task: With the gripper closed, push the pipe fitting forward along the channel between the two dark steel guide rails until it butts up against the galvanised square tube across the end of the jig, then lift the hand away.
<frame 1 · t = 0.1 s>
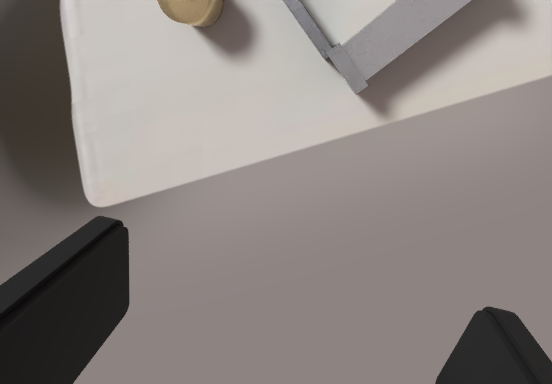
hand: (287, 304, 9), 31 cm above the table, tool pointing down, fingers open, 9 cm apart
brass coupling: (200, 0, 34), on the table
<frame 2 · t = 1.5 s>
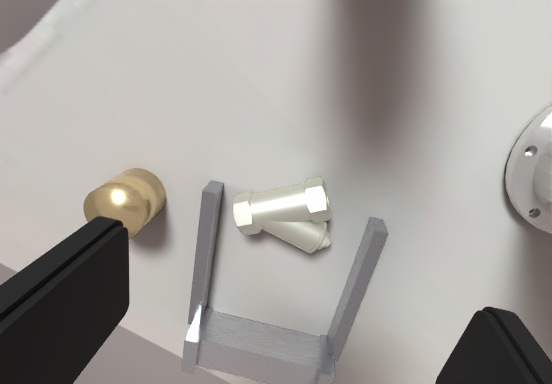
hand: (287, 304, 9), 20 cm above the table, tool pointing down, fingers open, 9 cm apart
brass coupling: (141, 192, 32), on the table
pipe fitting: (288, 211, 31), on the table
pipe jig: (279, 268, 33), on the table
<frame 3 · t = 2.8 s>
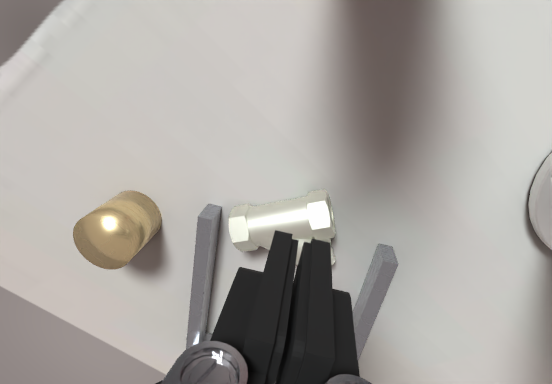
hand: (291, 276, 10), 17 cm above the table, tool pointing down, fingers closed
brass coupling: (136, 215, 30), on the table
pipe fitting: (290, 226, 29), on the table
pipe jig: (281, 294, 31), on the table
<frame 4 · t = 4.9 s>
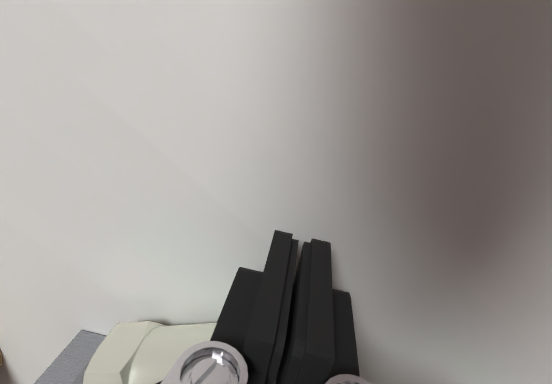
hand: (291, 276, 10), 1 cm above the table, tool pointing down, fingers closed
pipe fitting: (246, 355, 14), on the table
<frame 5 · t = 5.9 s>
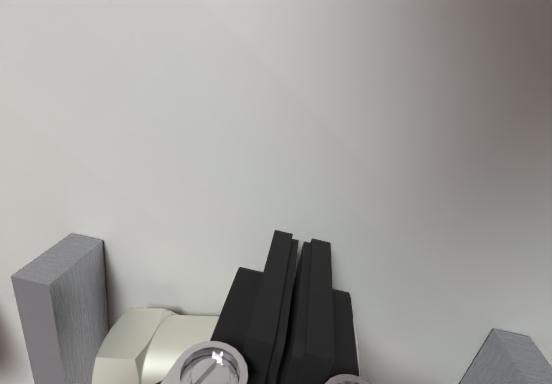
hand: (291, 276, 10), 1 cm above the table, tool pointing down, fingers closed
pipe fitting: (253, 351, 13), on the table, touching gripper
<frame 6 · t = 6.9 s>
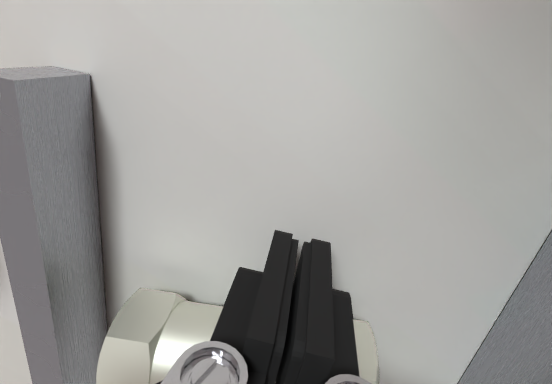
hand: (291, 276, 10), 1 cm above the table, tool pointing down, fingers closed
pipe fitting: (254, 345, 13), on the table, touching gripper
pipe jig: (278, 329, 12), on the table
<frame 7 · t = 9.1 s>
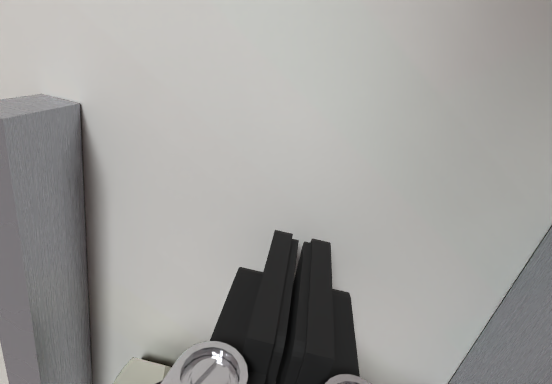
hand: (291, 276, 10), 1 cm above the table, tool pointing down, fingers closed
pipe jig: (260, 351, 12), on the table
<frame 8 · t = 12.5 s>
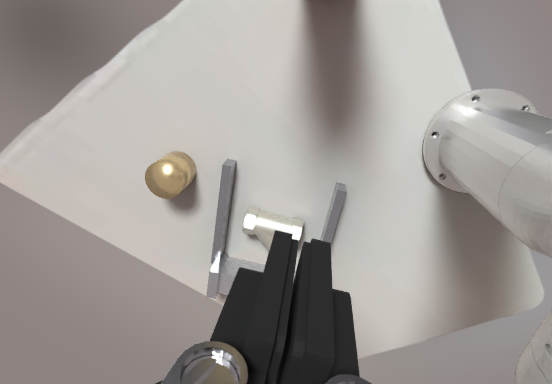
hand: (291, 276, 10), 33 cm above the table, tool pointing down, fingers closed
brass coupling: (179, 168, 46), on the table
pipe fitting: (273, 228, 48), on the table
pipe jig: (275, 221, 47), on the table
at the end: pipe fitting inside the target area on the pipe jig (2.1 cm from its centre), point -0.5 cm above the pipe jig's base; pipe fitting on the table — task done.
